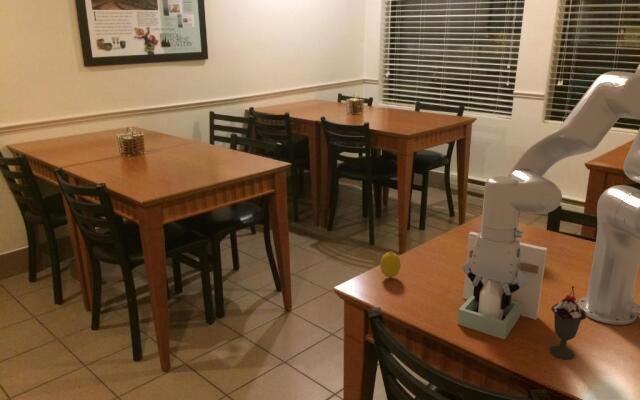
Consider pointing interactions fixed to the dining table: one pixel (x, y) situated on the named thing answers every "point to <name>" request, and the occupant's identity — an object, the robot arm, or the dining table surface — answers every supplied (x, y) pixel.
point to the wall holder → (521, 300)
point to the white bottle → (491, 299)
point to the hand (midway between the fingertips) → (491, 302)
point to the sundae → (566, 325)
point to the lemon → (390, 264)
